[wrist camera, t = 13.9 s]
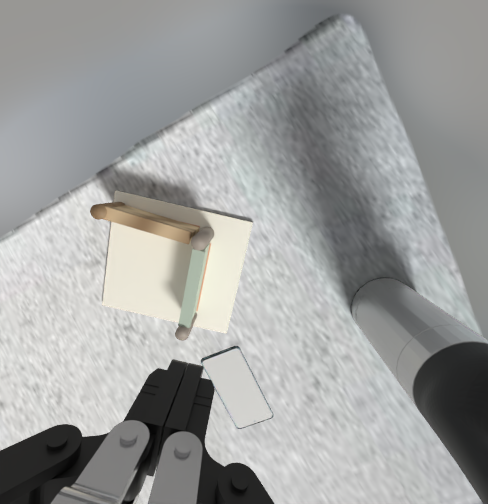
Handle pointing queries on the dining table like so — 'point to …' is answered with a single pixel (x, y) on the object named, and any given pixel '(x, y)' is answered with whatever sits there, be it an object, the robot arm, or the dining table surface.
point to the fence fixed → (194, 281)
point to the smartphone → (237, 387)
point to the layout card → (174, 265)
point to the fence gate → (144, 221)
